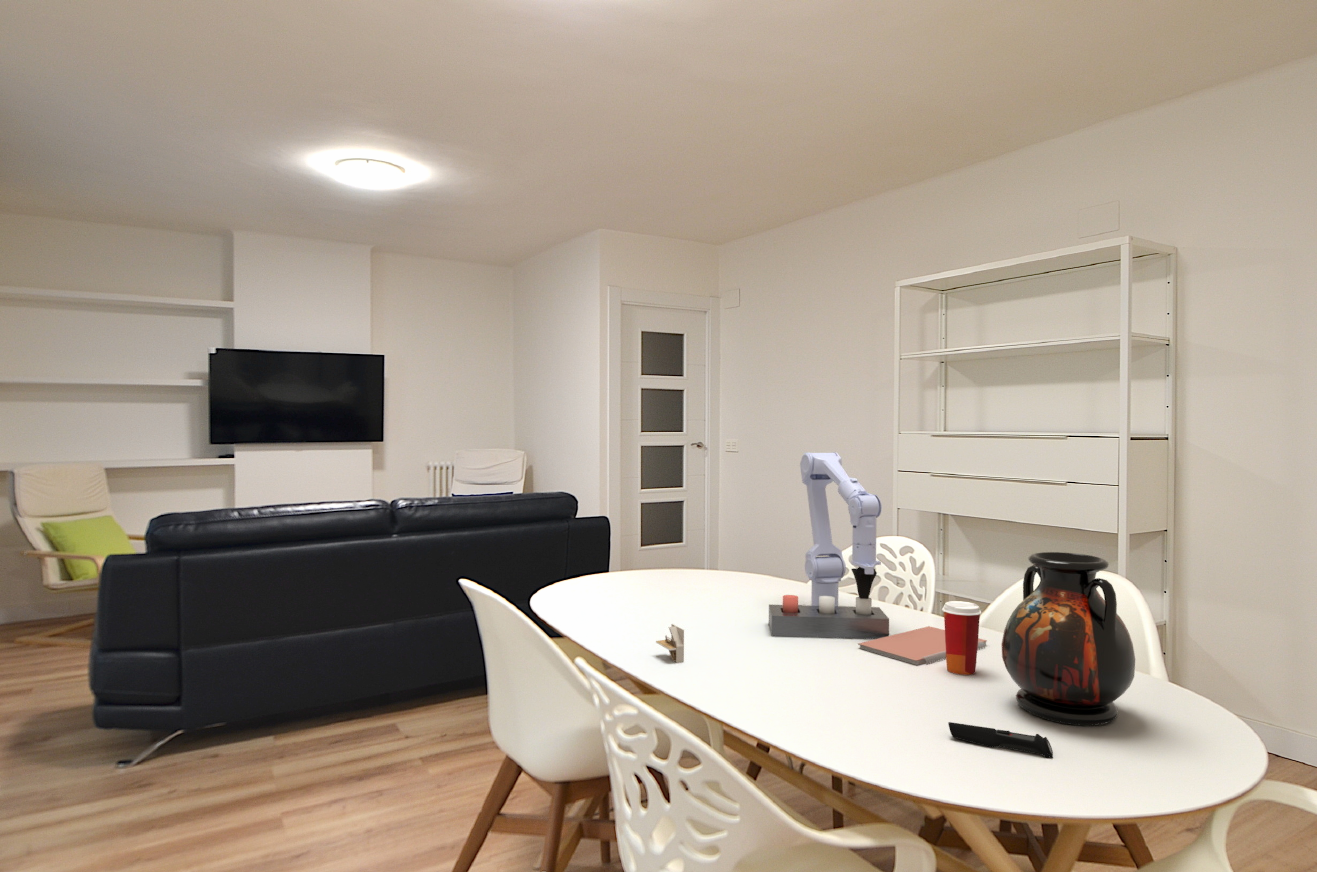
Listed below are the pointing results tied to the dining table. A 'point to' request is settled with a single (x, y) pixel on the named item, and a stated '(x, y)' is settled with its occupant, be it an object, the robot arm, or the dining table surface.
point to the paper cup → (961, 636)
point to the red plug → (790, 604)
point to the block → (828, 623)
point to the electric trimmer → (1001, 739)
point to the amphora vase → (1068, 642)
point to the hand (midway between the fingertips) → (863, 597)
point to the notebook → (913, 645)
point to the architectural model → (674, 643)
